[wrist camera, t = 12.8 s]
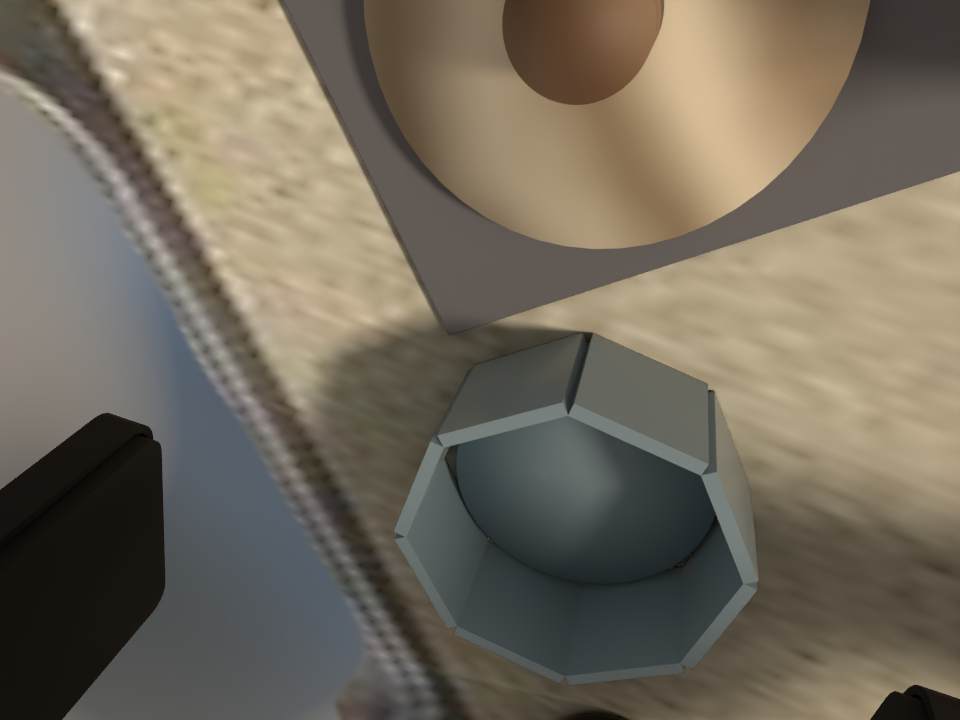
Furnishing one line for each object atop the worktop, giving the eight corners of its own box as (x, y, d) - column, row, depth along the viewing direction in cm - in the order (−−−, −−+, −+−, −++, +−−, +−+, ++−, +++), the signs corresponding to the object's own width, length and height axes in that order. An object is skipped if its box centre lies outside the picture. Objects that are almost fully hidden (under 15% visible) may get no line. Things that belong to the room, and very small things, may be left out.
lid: (782, -444, 21) (809, -573, 16) (920, 143, 27) (973, 192, 22) (294, -122, 28) (199, -136, 23) (488, 292, 34) (448, 358, 28)
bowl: (682, 302, 32) (678, 371, 27) (777, 561, 37) (789, 661, 32) (395, 388, 38) (347, 459, 33) (511, 603, 43) (485, 694, 37)
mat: (863, -577, 20) (867, -586, 20) (1003, 152, 27) (1006, 155, 26) (223, -134, 29) (217, -135, 28) (451, 331, 35) (449, 335, 35)
